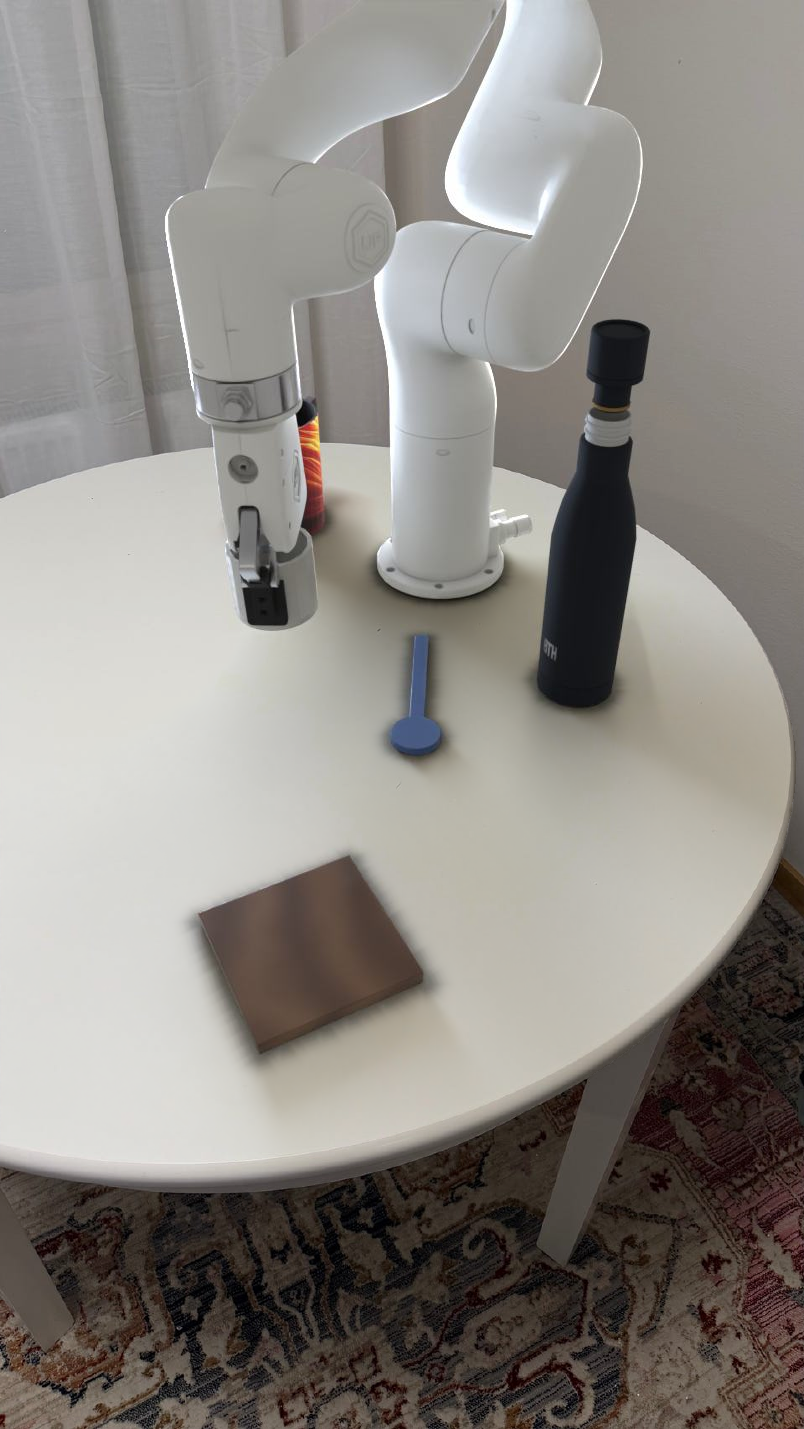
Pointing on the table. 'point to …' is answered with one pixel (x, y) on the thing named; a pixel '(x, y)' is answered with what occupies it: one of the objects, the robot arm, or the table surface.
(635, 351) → the insulated water bottle
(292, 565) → the pot
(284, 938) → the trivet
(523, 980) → the table surface
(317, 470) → the mug
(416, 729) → the spoon
